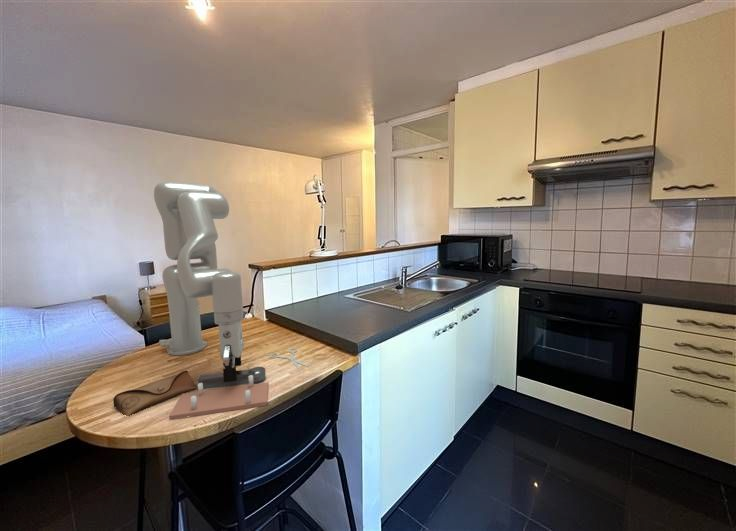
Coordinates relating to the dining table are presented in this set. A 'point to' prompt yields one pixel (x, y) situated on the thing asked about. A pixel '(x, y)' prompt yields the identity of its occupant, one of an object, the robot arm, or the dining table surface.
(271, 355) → the scissors
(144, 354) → the dining table surface
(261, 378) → the grey spoon
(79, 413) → the dining table surface
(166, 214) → the robot arm
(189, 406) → the peg rack
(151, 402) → the sunglasses case
